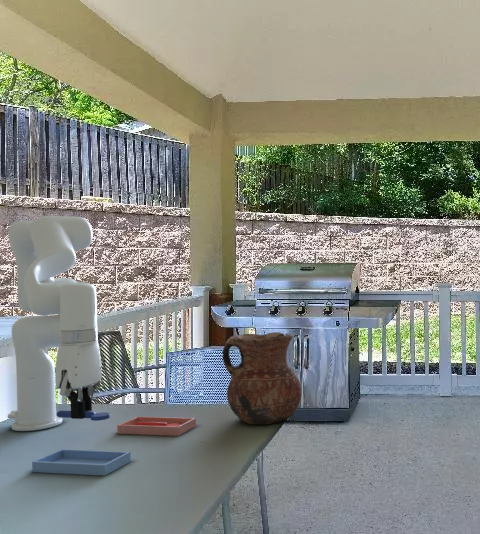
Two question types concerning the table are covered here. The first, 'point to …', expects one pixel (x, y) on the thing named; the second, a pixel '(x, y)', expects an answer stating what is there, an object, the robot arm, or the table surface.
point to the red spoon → (156, 424)
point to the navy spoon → (87, 415)
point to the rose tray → (131, 428)
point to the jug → (262, 379)
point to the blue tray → (81, 462)
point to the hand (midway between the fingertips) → (81, 416)
